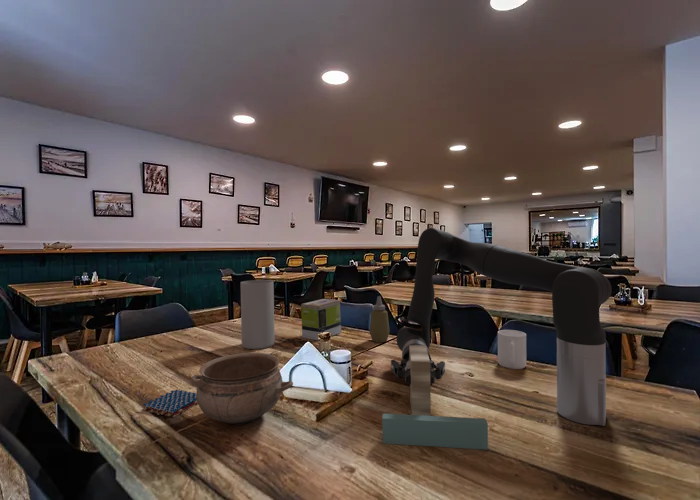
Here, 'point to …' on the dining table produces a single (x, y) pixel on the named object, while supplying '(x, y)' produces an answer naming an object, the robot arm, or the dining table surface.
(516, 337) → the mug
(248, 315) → the cylinder vase
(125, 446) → the dining table surface
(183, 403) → the woven mat
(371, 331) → the squeeze bottle
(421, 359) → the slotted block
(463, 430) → the rail
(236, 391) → the cooking pot
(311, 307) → the tea box
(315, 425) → the dining table surface
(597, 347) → the robot arm
